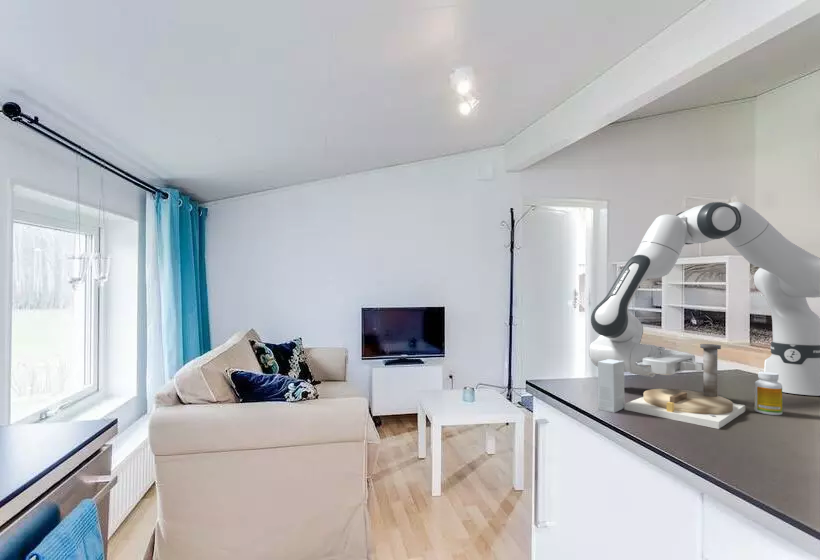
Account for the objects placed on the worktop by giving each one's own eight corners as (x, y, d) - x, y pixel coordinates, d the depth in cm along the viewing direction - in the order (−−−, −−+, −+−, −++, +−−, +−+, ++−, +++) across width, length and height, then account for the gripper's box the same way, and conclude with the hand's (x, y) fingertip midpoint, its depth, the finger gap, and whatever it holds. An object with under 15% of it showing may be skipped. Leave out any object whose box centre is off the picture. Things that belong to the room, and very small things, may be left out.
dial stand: (658, 396, 128) (658, 383, 128) (745, 411, 113) (745, 397, 113) (624, 409, 114) (624, 395, 114) (718, 428, 99) (718, 412, 99)
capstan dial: (705, 395, 123) (705, 342, 123) (752, 415, 104) (752, 352, 104) (631, 393, 124) (631, 340, 125) (664, 412, 105) (664, 350, 106)
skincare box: (607, 405, 118) (608, 358, 118) (624, 408, 115) (625, 360, 115) (597, 409, 114) (597, 361, 114) (614, 413, 110) (614, 363, 111)
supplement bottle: (787, 416, 109) (787, 375, 109) (762, 414, 110) (762, 374, 110) (774, 410, 115) (774, 371, 115) (750, 409, 116) (750, 370, 116)
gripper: (631, 352, 122) (690, 359, 111) (661, 346, 135) (715, 351, 125) (631, 376, 122) (690, 385, 111) (660, 367, 135) (715, 374, 125)
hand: (703, 367), depth 118 cm, fingers closed
